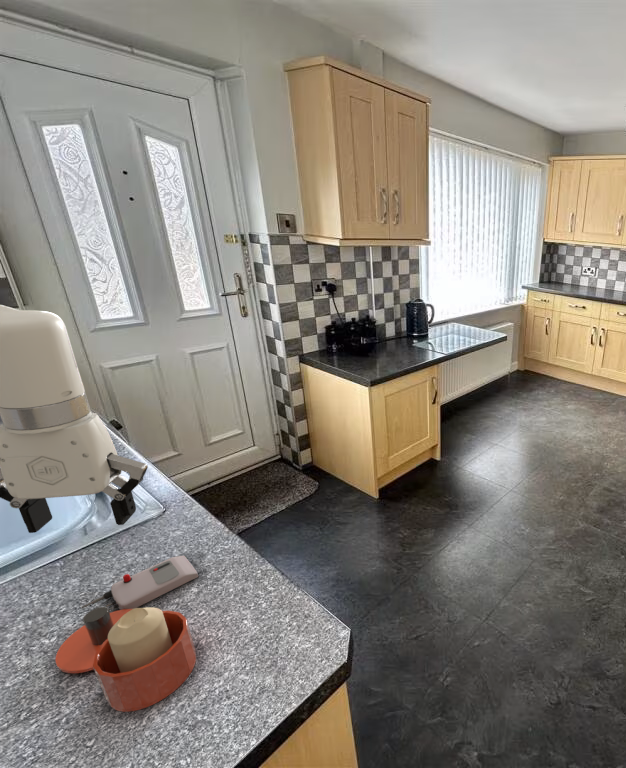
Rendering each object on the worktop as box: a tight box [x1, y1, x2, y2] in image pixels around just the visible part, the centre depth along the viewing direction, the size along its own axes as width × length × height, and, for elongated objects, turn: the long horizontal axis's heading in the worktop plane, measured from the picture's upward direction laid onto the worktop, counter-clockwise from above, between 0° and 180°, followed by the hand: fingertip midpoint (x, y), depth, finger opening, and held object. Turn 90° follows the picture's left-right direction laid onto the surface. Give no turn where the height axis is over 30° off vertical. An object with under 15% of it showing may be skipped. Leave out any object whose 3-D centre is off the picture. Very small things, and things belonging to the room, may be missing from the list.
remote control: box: [81, 555, 207, 611], centre depth 71 cm, size 7×16×3 cm, turn 143°
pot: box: [93, 609, 197, 713], centre depth 57 cm, size 9×9×6 cm
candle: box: [108, 606, 173, 673], centre depth 56 cm, size 6×6×10 cm
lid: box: [54, 606, 132, 674], centre depth 61 cm, size 10×10×6 cm
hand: (84, 522), depth 59 cm, fingers open, 9 cm apart
